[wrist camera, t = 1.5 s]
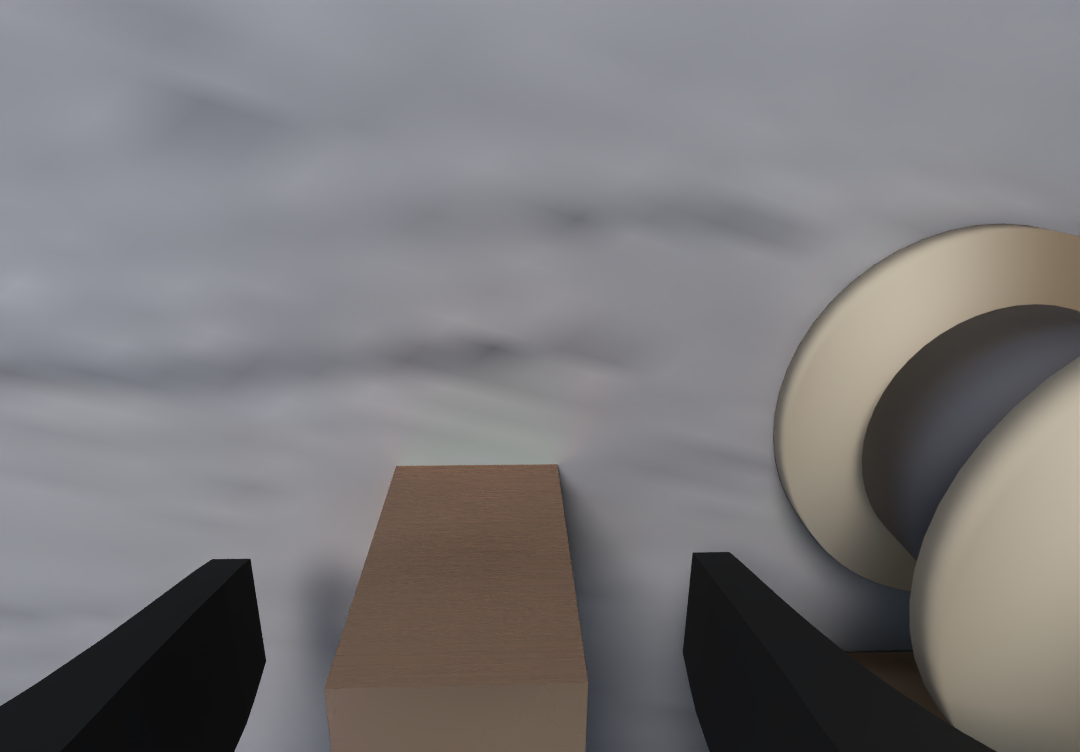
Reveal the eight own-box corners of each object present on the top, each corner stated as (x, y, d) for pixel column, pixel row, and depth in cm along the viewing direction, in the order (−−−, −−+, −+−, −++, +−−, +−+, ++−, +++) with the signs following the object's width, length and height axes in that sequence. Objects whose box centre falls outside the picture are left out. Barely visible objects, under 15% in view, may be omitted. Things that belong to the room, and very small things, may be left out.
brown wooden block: (405, 600, 14) (346, 874, 9) (396, 465, 13) (323, 689, 8) (554, 597, 14) (580, 867, 9) (557, 464, 13) (588, 683, 8)
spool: (753, 575, 14) (892, 833, 9) (800, 222, 12) (1023, 303, 7) (1089, 569, 15) (1407, 816, 9) (1200, 224, 12) (1706, 302, 7)
